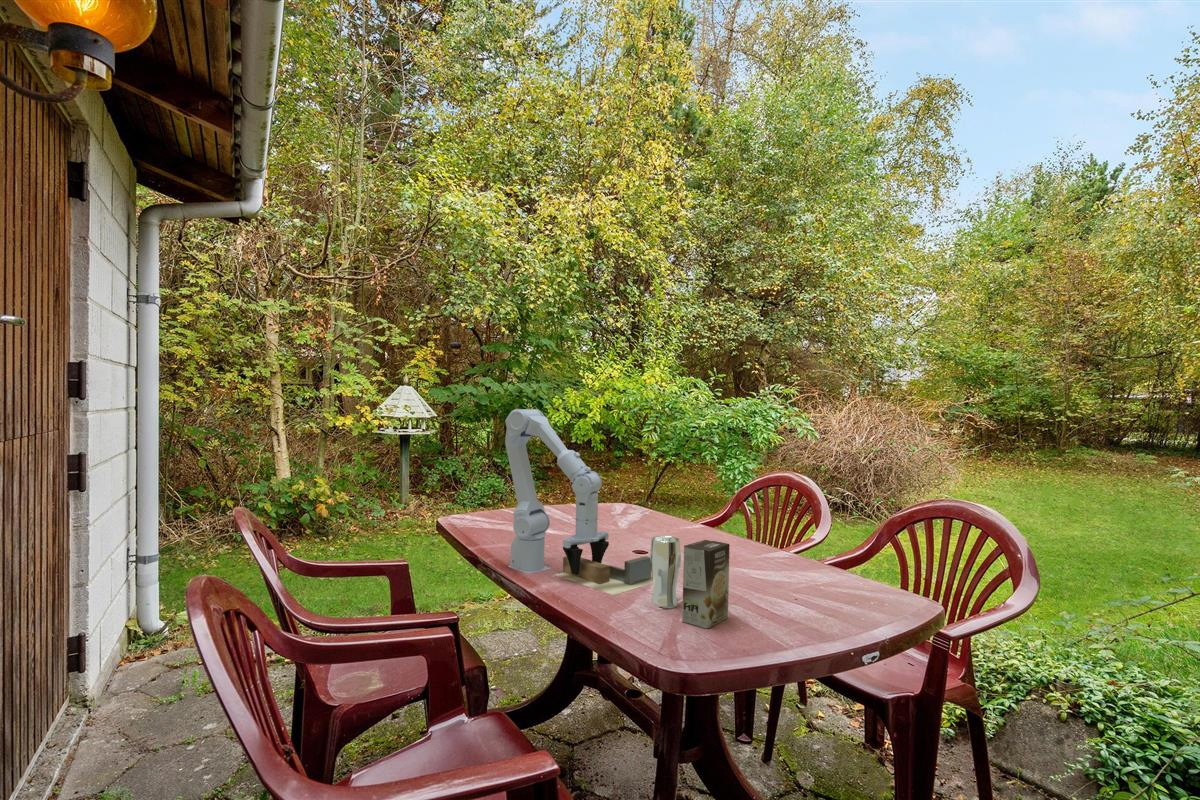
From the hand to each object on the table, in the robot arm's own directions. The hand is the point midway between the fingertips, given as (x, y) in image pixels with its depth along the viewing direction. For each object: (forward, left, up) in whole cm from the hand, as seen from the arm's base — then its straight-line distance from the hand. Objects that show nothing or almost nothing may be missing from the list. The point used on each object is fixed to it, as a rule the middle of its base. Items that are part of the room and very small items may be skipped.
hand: (585, 571), depth 152 cm
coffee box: (+38, -1, -2) cm, 38 cm away
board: (+4, +4, -2) cm, 6 cm away
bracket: (+7, +7, -2) cm, 11 cm away
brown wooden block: (0, 0, -2) cm, 2 cm away
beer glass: (+26, 0, -2) cm, 26 cm away
